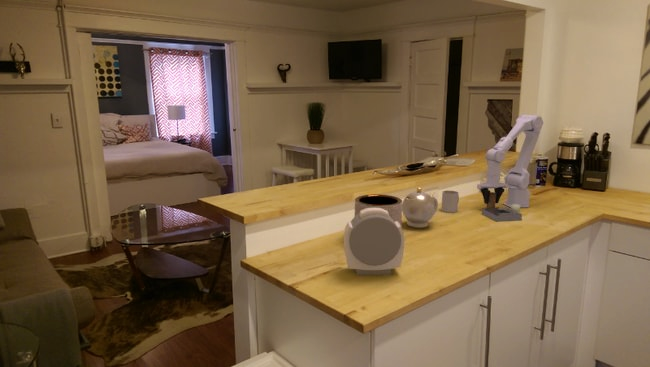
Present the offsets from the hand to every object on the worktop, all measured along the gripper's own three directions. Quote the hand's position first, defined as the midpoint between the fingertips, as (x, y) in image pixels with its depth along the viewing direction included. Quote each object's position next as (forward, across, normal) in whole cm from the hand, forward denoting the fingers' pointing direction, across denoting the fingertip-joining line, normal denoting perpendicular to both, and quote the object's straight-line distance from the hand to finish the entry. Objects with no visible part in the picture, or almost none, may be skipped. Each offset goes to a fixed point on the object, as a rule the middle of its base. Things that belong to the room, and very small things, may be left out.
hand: (491, 203), depth 208 cm
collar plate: (+3, +2, +12) cm, 13 cm away
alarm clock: (+3, +75, +59) cm, 95 cm away
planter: (+3, +65, +31) cm, 72 cm away
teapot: (+3, +42, +17) cm, 45 cm away
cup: (+3, +19, -2) cm, 19 cm away
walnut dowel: (+3, 0, 0) cm, 3 cm away
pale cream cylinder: (+3, -8, +8) cm, 11 cm away
